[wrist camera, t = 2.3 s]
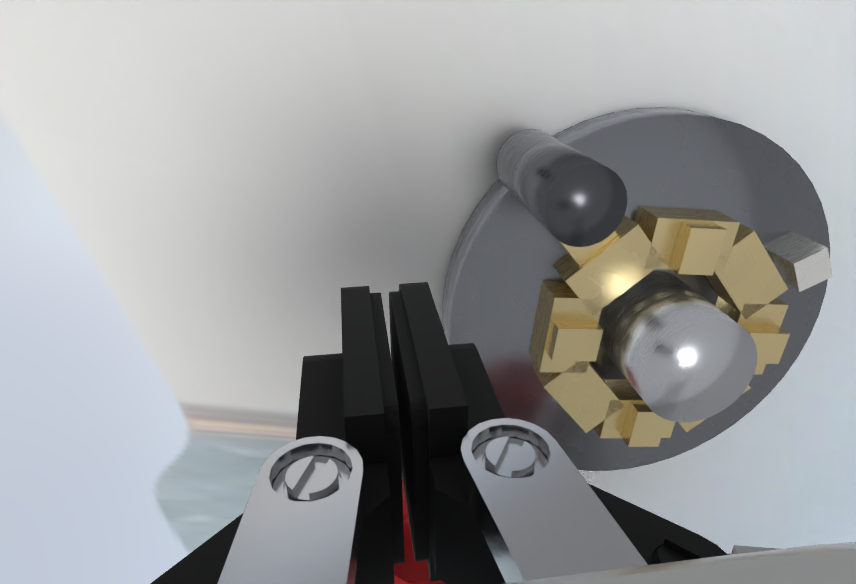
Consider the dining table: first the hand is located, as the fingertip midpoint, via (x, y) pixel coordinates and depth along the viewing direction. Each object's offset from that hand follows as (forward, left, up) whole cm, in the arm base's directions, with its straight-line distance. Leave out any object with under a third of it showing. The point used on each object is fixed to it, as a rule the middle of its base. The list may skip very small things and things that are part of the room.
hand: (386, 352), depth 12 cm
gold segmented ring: (-7, -8, -11) cm, 15 cm away
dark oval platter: (-9, -9, -13) cm, 19 cm away
